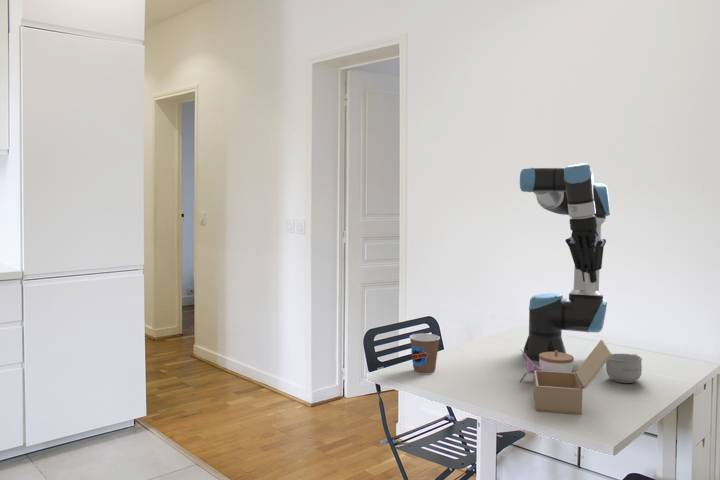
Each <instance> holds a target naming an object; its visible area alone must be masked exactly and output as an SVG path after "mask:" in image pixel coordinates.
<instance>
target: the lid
mask: <svg viewBox="0 0 720 480" xmlns="http://www.w3.org/2000/svg"><path fill="white" fill-rule="evenodd" d="M612 354H613V353H612V352H611V351H610V350H609V347H608V346H607V345H606V343H605V341H603V339H600V341H598V343H597V344H596V345H595V347H594V348H593V349H592V351H591V352H590V353H589V354H588V356H587V357H586V358H585V359H584V361H583V362H582V363H581V365H580V366H579V368H577V370H575V371H574V373H576V375H577V378H578V381H579V383H580V386H581V388H582V389H583V390H586V389H587V387H588V386H589V385H590V383H592V381H593V380H594V378H595V377H596V376H597V374H599V372H600V371H601V370H602V369H603V367H604V365H606V362H607V361H608V359H609V358H610V357H611V356H612Z"/></svg>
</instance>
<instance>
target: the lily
mask: <svg viewBox="0 0 720 480" xmlns="http://www.w3.org/2000/svg"><path fill="white" fill-rule="evenodd" d="M519 350H520V351H521V353H522V355H523V356H524V355H525V356H524V357H525V359H526V360H525V361H524V364H525V365H526V372H525V373H524V375H523V376H522V378H521V380H520V382H519V383H522V381H523V380H524V378H525V376H526V375H527V374H531V375H532V374H533V375H534V370H537V371H542V370H541V369H540V366H539V365H537V364H534V363H533V361H532V359H530V358H529V357H527V355H526V354H525V353H524V350H522V349H519Z"/></svg>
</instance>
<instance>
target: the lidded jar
mask: <svg viewBox="0 0 720 480" xmlns="http://www.w3.org/2000/svg"><path fill="white" fill-rule="evenodd" d="M538 361H539V362H538V363H539V365H538V366H539V368H540V369H541V370H542V371H553V372H568V373H573V372H572V371H573V367H574V356H573V355H572V354H569V353H567V352H566V353H562V352H558V351H557V350H555V352H543V353H540V354H539V360H538Z"/></svg>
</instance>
